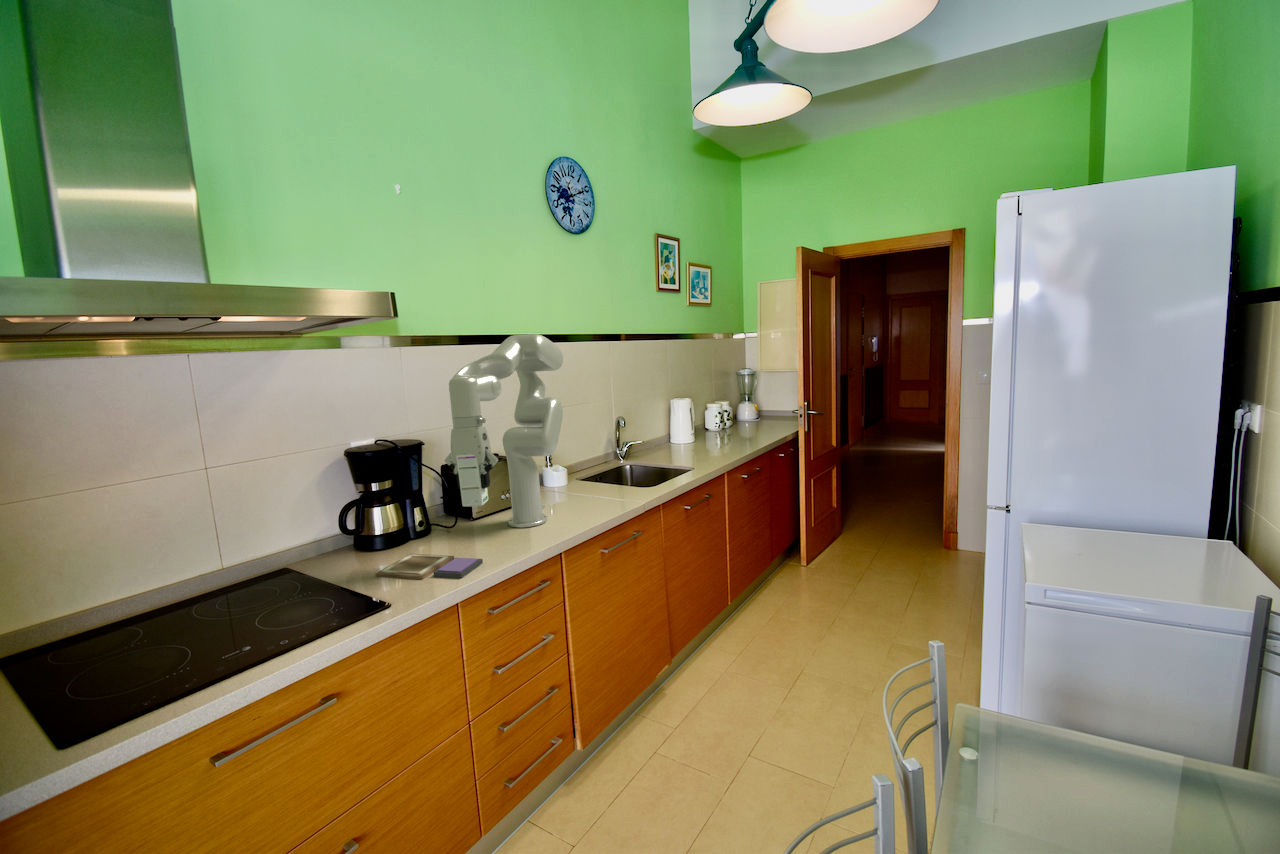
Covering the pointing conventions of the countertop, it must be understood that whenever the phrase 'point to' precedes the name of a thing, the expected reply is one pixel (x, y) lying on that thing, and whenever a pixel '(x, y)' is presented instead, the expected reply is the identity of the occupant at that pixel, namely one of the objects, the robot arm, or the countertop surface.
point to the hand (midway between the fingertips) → (473, 486)
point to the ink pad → (458, 567)
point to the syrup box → (471, 481)
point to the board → (415, 566)
